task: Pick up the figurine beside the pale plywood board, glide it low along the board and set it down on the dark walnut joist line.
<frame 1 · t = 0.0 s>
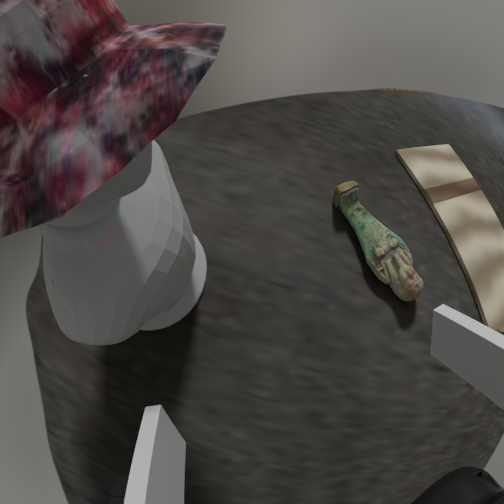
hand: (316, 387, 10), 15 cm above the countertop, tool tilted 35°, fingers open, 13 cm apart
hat: (170, 272, 29), on the countertop
figurine: (372, 248, 30), on the countertop
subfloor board: (475, 230, 30), on the countertop
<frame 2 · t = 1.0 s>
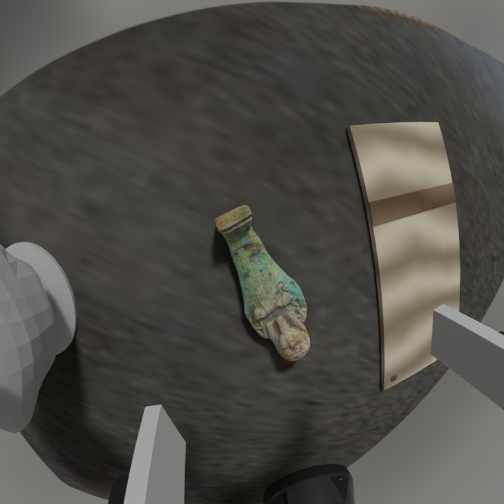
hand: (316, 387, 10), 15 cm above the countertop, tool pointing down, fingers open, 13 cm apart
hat: (47, 302, 23), on the countertop
figurine: (262, 283, 26), on the countertop
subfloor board: (421, 260, 28), on the countertop
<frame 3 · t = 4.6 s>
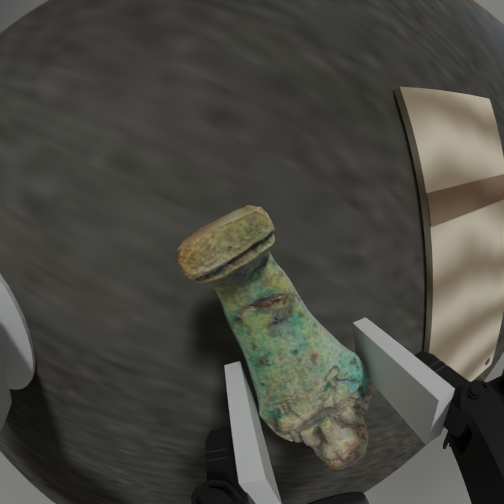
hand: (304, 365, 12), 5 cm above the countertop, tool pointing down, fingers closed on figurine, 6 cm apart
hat: (0, 327, 14), on the countertop
figurine: (290, 355, 13), point 4 cm above the countertop, touching gripper
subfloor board: (473, 268, 19), on the countertop
when the fingers open (2 cm above the countertop, at t = 11.3 s): figurine stays where it is, resting on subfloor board.
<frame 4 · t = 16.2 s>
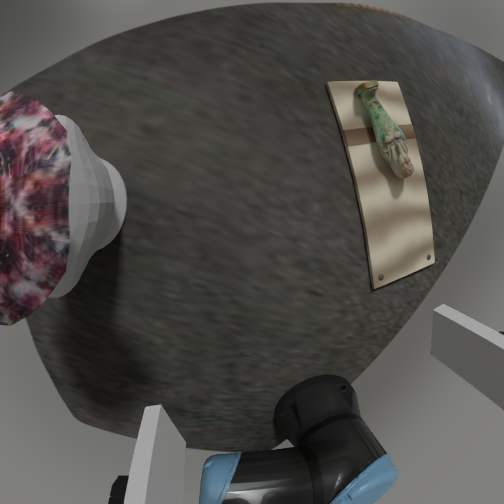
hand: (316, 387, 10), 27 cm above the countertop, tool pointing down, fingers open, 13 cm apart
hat: (100, 203, 32), on the countertop
figurine: (379, 131, 35), point 1 cm above the countertop, touching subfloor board
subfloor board: (390, 178, 37), on the countertop
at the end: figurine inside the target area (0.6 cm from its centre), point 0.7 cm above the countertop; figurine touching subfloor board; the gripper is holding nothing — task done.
